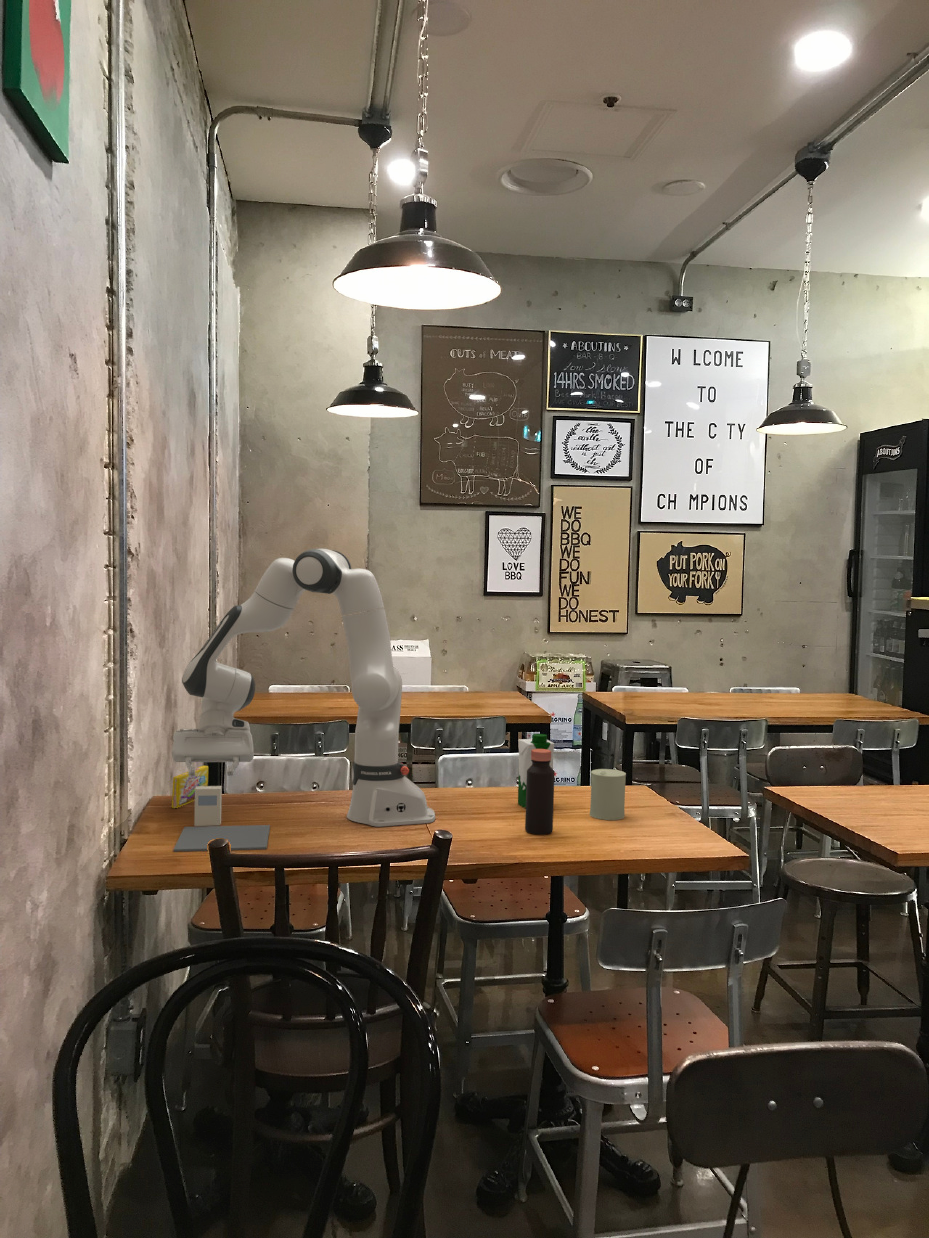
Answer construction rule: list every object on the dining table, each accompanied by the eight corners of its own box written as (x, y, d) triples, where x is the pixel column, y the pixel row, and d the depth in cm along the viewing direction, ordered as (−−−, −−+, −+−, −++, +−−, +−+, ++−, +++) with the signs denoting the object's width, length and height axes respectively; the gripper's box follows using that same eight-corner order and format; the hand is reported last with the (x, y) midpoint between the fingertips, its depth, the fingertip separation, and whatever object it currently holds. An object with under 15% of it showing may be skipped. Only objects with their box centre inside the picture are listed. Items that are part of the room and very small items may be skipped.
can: (582, 815, 236) (584, 770, 236) (602, 809, 243) (603, 765, 242) (612, 822, 230) (613, 776, 229) (631, 816, 237) (633, 771, 236)
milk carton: (525, 811, 239) (527, 737, 238) (513, 803, 247) (515, 731, 246) (555, 809, 241) (558, 736, 241) (542, 801, 250) (544, 730, 249)
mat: (269, 827, 217) (269, 825, 217) (266, 849, 200) (266, 847, 200) (184, 828, 214) (184, 826, 214) (173, 851, 196) (173, 849, 196)
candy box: (178, 809, 232) (178, 777, 232) (170, 808, 232) (171, 777, 232) (208, 795, 248) (208, 765, 248) (201, 794, 248) (201, 764, 248)
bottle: (524, 827, 223) (526, 747, 222) (551, 828, 223) (554, 748, 222) (525, 834, 217) (527, 752, 216) (553, 835, 216) (556, 753, 216)
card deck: (221, 822, 221) (221, 785, 220) (219, 825, 218) (220, 788, 217) (195, 822, 220) (196, 786, 219) (194, 826, 217) (194, 789, 216)
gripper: (173, 722, 230) (166, 767, 221) (254, 722, 233) (251, 767, 224) (175, 736, 234) (169, 781, 225) (255, 736, 238) (252, 780, 229)
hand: (211, 774), depth 225 cm, fingers open, 8 cm apart
